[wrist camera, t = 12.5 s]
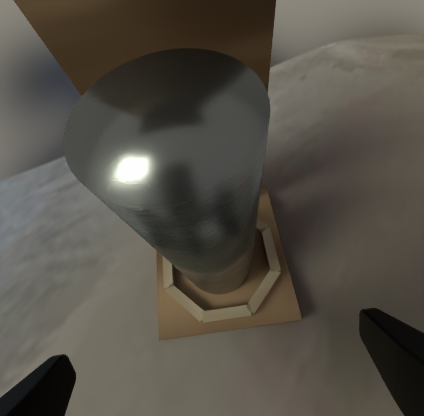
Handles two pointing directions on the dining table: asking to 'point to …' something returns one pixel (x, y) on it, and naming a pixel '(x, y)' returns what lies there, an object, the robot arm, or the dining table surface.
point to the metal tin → (178, 157)
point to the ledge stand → (159, 41)
